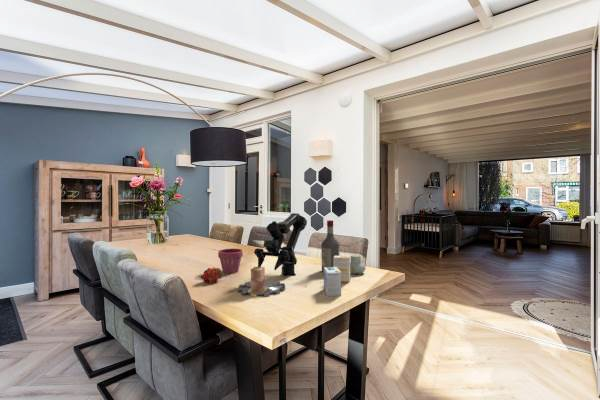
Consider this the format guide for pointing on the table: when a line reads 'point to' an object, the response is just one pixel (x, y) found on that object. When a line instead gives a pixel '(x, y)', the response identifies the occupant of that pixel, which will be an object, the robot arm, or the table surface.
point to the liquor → (329, 247)
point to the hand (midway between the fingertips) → (266, 268)
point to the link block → (257, 278)
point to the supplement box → (343, 267)
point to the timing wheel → (269, 289)
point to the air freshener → (356, 265)
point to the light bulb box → (332, 281)
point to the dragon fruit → (211, 275)
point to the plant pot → (230, 260)
